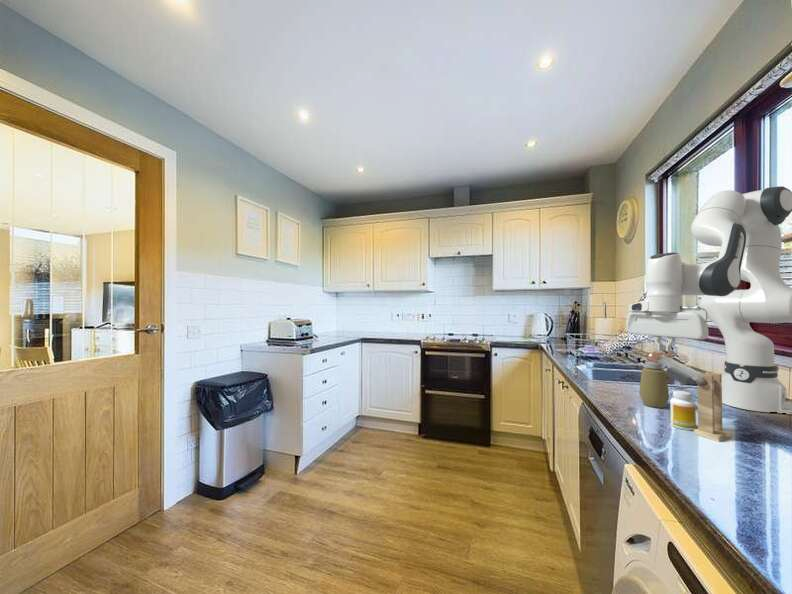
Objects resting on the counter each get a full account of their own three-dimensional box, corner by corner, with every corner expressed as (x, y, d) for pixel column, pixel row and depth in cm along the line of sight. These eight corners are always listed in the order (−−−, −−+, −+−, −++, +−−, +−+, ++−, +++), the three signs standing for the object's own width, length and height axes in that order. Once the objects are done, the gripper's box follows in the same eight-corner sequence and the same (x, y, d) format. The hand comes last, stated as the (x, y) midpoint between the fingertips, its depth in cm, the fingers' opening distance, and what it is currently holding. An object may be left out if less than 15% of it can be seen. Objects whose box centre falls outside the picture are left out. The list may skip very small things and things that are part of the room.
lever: (661, 361, 103) (667, 349, 102) (718, 389, 91) (726, 376, 89) (642, 363, 99) (647, 351, 98) (699, 394, 87) (706, 380, 85)
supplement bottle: (700, 431, 90) (700, 395, 90) (678, 430, 91) (677, 394, 91) (687, 424, 95) (687, 390, 95) (666, 422, 96) (665, 389, 96)
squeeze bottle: (633, 401, 116) (632, 350, 116) (657, 402, 116) (656, 350, 116) (650, 409, 108) (649, 354, 108) (676, 409, 108) (675, 354, 108)
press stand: (707, 429, 91) (706, 371, 91) (732, 436, 86) (730, 374, 86) (693, 434, 88) (692, 373, 88) (718, 441, 83) (717, 377, 83)
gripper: (713, 306, 93) (713, 355, 93) (634, 305, 111) (635, 346, 111) (701, 306, 90) (701, 357, 90) (623, 305, 109) (623, 347, 109)
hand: (664, 351), depth 101 cm, fingers closed, pressing on lever
